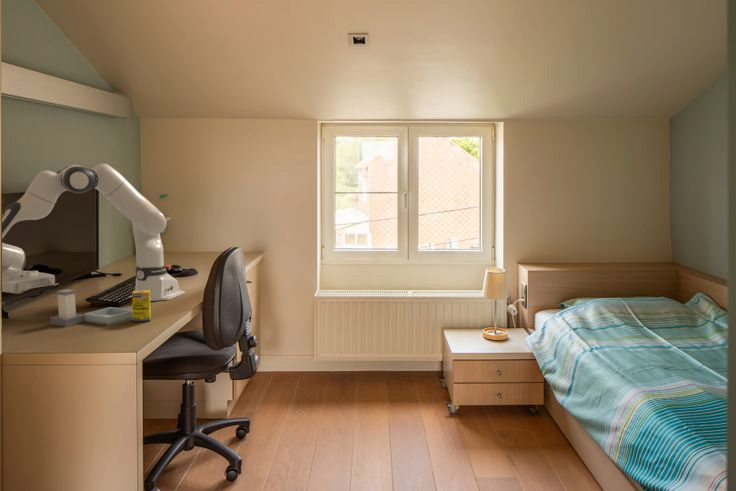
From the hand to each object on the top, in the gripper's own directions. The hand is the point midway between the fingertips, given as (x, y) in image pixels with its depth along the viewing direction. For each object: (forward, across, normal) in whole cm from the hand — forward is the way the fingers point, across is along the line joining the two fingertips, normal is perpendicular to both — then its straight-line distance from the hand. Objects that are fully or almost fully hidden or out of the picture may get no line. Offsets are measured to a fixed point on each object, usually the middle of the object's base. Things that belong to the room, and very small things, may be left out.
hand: (41, 284), depth 231 cm
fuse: (+12, 0, +13) cm, 18 cm away
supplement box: (+33, +16, +13) cm, 39 cm away
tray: (+22, +10, +13) cm, 28 cm away
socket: (+12, +2, +13) cm, 18 cm away
